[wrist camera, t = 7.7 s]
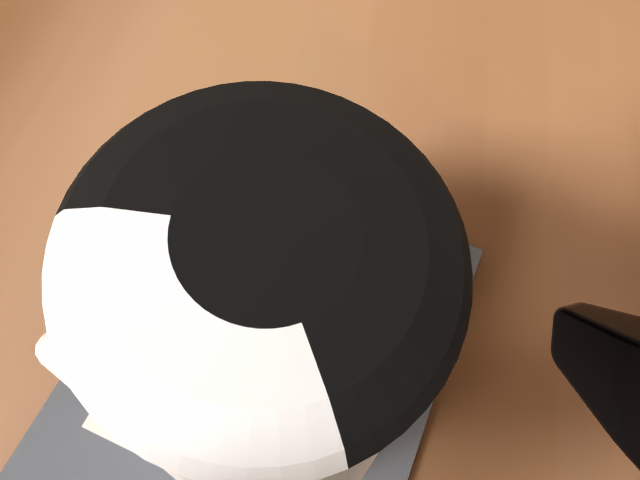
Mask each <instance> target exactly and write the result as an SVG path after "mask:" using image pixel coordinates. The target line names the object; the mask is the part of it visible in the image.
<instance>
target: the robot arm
mask: <svg viewBox="0 0 640 480" xmlns="http://www.w3.org/2000/svg"><path fill="white" fill-rule="evenodd" d="M551 354H552V357H553V360H554V362H555V363H556V365H557V367H558V368H559V369H560V371H561V372H562V373H563V375H564V376H565V377H566V379H567V380H568V381H569V383H570V384H571V385H572V387H573V388H574V389H575V391H576V392H577V393H578V395H579V396H580V397H581V399H582V400H583V401H584V403H585V404H586V405H587V407H588V408H589V409H590V411H591V412H592V413H593V415H594V416H595V417H596V419H597V420H598V421H599V423H600V424H601V425H602V427H603V428H604V429H605V430H606V432H607V433H608V434H609V435H610V437H611V438H612V439H613V441H614V442H615V443H616V444H617V445H618V446H619V448H620V449H621V450H622V451H623V452H624V453H625V455H626V456H627V457H628V458H629V459H630V460H631V461H632V462H633V464H634V465H635V466H636V467H637V468H638V469H639V470H640V317H639V316H635V315H631V314H627V313H623V312H619V311H615V310H611V309H607V308H603V307H599V306H595V305H591V304H586V303H574V304H571V305H567V306H563V307H560V308H558V309H557V310H556V312H555V313H554V317H553V328H552V340H551Z"/></svg>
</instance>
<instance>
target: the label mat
mask: <svg viewBox="0 0 640 480" xmlns="http://www.w3.org/2000/svg"><path fill="white" fill-rule="evenodd" d="M469 247H470V254H471V263H472V272H473V279H474V276H475V273H476V270H477V267H478V264H479V261H480V258H481V255H482V252H483V250H482V249H480V248H477V247H475V246H473V245H470V244H469ZM433 401H434V400H433ZM432 404H433V402H432V403H431V404H430V406H429V407H428V409H427V410H426V411H425V412H424V413H423V414H422V415H421V416H420V417H419V418H418V419H417V420H416V421H415V422H414V423H413V424H412V426H411V427H410V428H409V429H408V430H407V431H406V432H405V433H404V434H402V435H401V436H400V437H398V438H397V439H396V440H394V441H393V442H392V443H390V444H389V445H388V446H386V447H385V448H384V449H383V450H381V451H380V452H379V453H378V454H377V456H376V457H375V459H374V461H373V462H372V464H371V465H370V467H369V469H368V470H367V472H366V473H365V475H364V477H363V478H362V480H408V477H409V474H410V471H411V468H412V465H413V462H414V459H415V456H416V453H417V450H418V447H419V443H420V440H421V437H422V434H423V431H424V428H425V425H426V422H427V419H428V416H429V413H430V410H431V407H432ZM0 480H175V479H174V478H173V477H172V476H171V475H170V474H168V473H167V472H166V471H165V470H164V469H163V468H161V467H158V466H156V465H154V464H152V463H150V462H148V461H145V460H144V459H142V458H141V457H139V456H138V455H137V454H135V453H134V452H132V451H131V450H129V449H128V448H126V447H125V446H123V445H122V444H120V443H119V442H117V441H116V440H115V439H114V438H113V437H112V436H111V435H110V434H109V433H108V432H106V431H105V430H104V429H103V428H102V427H101V426H100V425H99V424H98V423H97V422H96V421H95V420H94V419H93V418H92V417H91V416H90V415H89V413H88V412H87V411H86V409H85V408H84V407H83V405H82V404H81V403H80V401H79V400H78V399H77V397H76V396H75V395H74V394H73V392H72V391H71V389H70V388H69V387H68V386H66V385H65V384H64V383H63V382H62V381H61V380H60V381H59V382H58V384H57V385H56V387H55V388H54V390H53V392H52V393H51V395H50V396H49V398H48V399H47V401H46V403H45V404H44V406H43V407H42V409H41V410H40V412H39V413H38V415H37V417H36V418H35V420H34V421H33V423H32V424H31V426H30V428H29V429H28V431H27V432H26V434H25V435H24V437H23V438H22V440H21V442H20V443H19V445H18V446H17V448H16V449H15V451H14V453H13V454H12V456H11V457H10V459H9V460H8V462H7V463H6V465H5V467H4V468H3V470H2V471H1V473H0Z"/></svg>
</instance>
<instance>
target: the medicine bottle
mask: <svg viewBox="0 0 640 480" xmlns="http://www.w3.org/2000/svg"><path fill="white" fill-rule="evenodd" d="M472 288H473V272H472V263H471V254H470V247H469V243H468V239H467V235H466V232H465V228H464V224H463V221H462V219H461V216H460V214H459V211H458V209H457V206H456V204H455V201H454V199H453V197H452V195H451V194H450V192H449V190H448V188H447V187H446V185H445V183H444V181H443V180H442V178H441V176H440V175H439V174H438V172H437V171H436V170H435V168H434V167H433V166H432V164H431V163H430V162H429V160H428V159H427V158H426V156H425V155H424V154H423V153H422V152H421V151H420V150H419V149H418V148H417V147H416V146H415V145H414V144H413V143H412V142H411V141H410V140H409V139H408V138H407V137H406V136H404V135H403V134H402V133H401V132H399V131H398V130H397V129H396V128H394V127H393V126H392V125H391V124H390V123H388V122H387V121H385V120H384V119H382V118H380V117H379V116H377V115H376V114H374V113H372V112H371V111H369V110H367V109H366V108H364V107H362V106H360V105H358V104H356V103H353V102H351V101H349V100H347V99H345V98H343V97H341V96H338V95H335V94H332V93H329V92H326V91H323V90H320V89H316V88H312V87H307V86H303V85H298V84H293V83H283V82H273V81H244V82H236V83H228V84H220V85H216V86H212V87H208V88H204V89H199V90H195V91H193V92H190V93H187V94H185V95H182V96H179V97H176V98H174V99H171V100H169V101H167V102H165V103H163V104H161V105H159V106H157V107H155V108H153V109H151V110H149V111H147V112H145V113H144V114H142V115H141V116H139V117H138V118H136V119H135V120H133V121H132V122H130V123H129V124H127V125H126V126H124V127H123V128H122V129H120V130H119V131H118V132H117V133H116V134H115V135H114V136H112V137H111V138H110V139H109V140H108V141H107V142H106V143H104V144H103V145H102V146H101V147H100V148H99V149H98V151H97V152H96V153H95V154H94V155H93V156H92V157H91V158H90V160H89V161H88V162H87V163H86V164H85V165H84V166H83V168H82V169H81V171H80V172H79V174H78V175H77V177H76V178H75V180H74V181H73V183H72V184H71V186H70V187H69V189H68V190H67V192H66V194H65V196H64V199H63V201H62V203H61V205H60V207H59V209H58V211H57V213H56V215H55V218H54V221H53V224H52V228H51V231H50V234H49V237H48V240H47V244H46V250H45V257H44V263H43V270H42V306H43V312H44V318H45V324H46V330H47V332H46V333H45V334H44V335H43V336H42V337H41V338H40V339H39V341H38V342H37V344H36V345H35V354H36V356H37V358H38V360H39V361H40V363H41V364H42V365H43V366H44V367H46V368H47V369H48V370H49V371H50V372H51V373H53V374H54V375H55V376H56V377H57V378H58V379H60V380H61V381H62V382H63V383H64V384H65V385H66V386H68V387H69V388H70V389H71V391H72V392H73V394H74V395H75V396H76V397H77V399H78V400H79V401H80V403H81V404H82V405H83V407H84V408H85V409H86V411H87V412H88V413H89V415H90V416H91V417H92V418H93V419H94V420H95V421H96V422H97V423H98V424H99V425H100V426H101V427H102V428H103V429H104V430H105V431H106V432H108V433H109V434H110V435H111V436H112V437H113V438H114V439H115V440H116V441H117V442H119V443H120V444H122V445H123V446H125V447H126V448H128V449H129V450H131V451H132V452H134V453H135V454H137V455H138V456H139V457H141V458H142V459H144V460H145V461H148V462H150V463H152V464H154V465H156V466H158V467H161V468H163V469H164V470H165V471H166V472H167V473H168V474H170V475H171V476H172V477H173V478H174V479H175V480H362V478H363V477H364V475H365V473H366V472H367V470H368V469H369V467H370V465H371V464H372V462H373V461H374V459H375V457H376V456H377V454H378V453H379V452H380V451H381V450H383V449H384V448H385V447H386V446H388V445H389V444H390V443H392V442H393V441H394V440H396V439H397V438H398V437H400V436H401V435H402V434H404V433H405V432H406V431H407V430H408V429H409V428H410V427H411V426H412V424H413V423H414V422H415V421H416V420H417V419H418V418H419V417H420V416H421V415H422V414H423V413H424V412H425V411H426V410H427V409H428V407H429V406H430V404H431V403H432V402H433V400H434V399H435V397H436V396H437V395H438V393H439V392H440V390H441V389H442V388H443V386H444V385H445V383H446V381H447V379H448V377H449V375H450V373H451V371H452V369H453V367H454V365H455V363H456V361H457V359H458V357H459V354H460V351H461V348H462V345H463V342H464V339H465V336H466V333H467V329H468V323H469V317H470V312H471V306H472Z"/></svg>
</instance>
